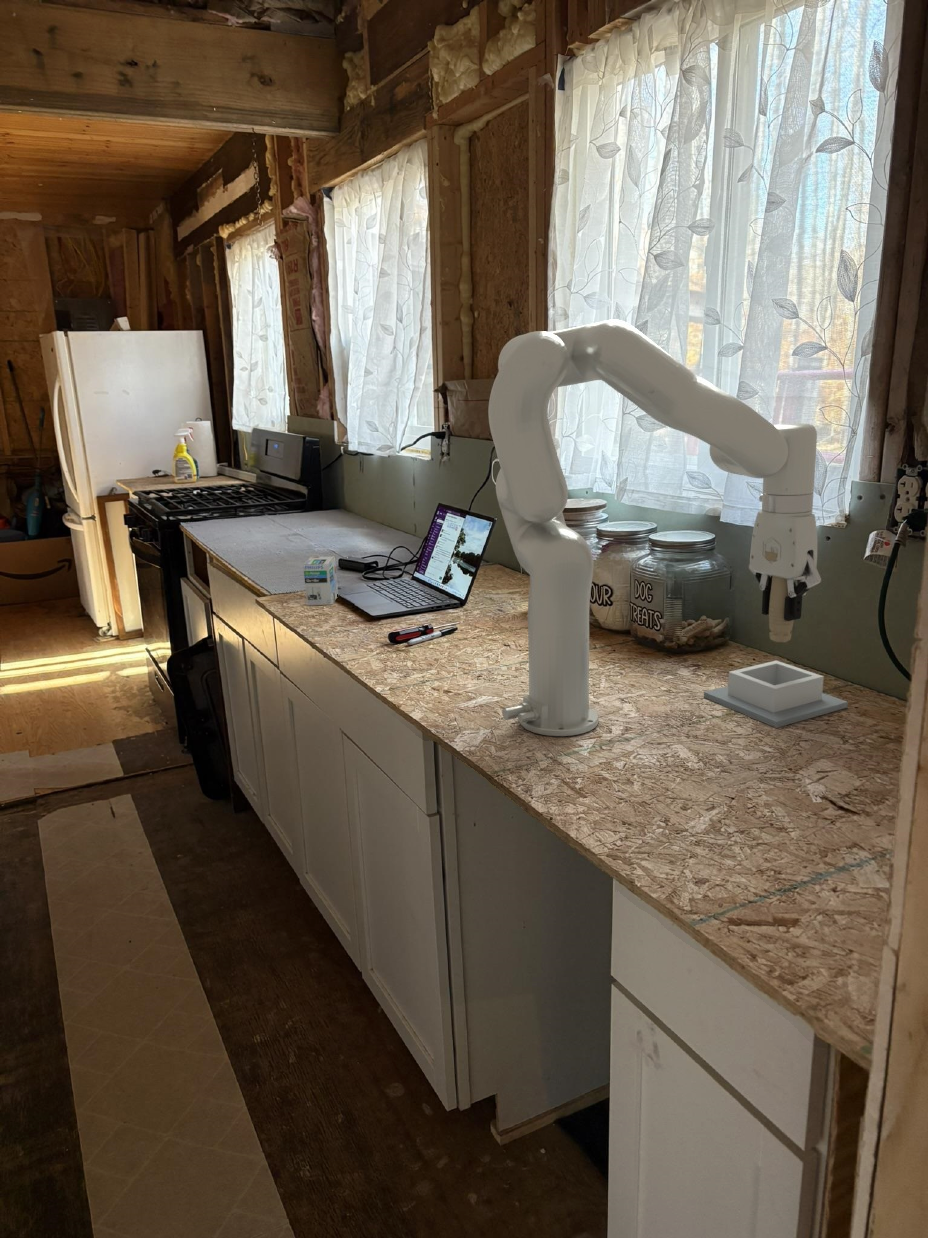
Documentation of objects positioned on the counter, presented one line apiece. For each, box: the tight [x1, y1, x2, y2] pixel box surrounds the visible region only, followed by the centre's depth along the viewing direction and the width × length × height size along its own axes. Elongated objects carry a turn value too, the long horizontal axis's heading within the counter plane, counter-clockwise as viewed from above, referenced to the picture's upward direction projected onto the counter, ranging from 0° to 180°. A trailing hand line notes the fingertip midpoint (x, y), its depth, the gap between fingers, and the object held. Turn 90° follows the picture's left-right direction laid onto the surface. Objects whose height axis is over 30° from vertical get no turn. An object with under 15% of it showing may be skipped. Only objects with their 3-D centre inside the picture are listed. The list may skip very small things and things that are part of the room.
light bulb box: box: [303, 555, 339, 606], centre depth 223 cm, size 11×7×11 cm, turn 179°
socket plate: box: [703, 660, 849, 729], centre depth 145 cm, size 16×16×5 cm
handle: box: [765, 551, 795, 643], centre depth 141 cm, size 5×6×15 cm
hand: (781, 615), depth 142 cm, fingers closed on handle, 3 cm apart
